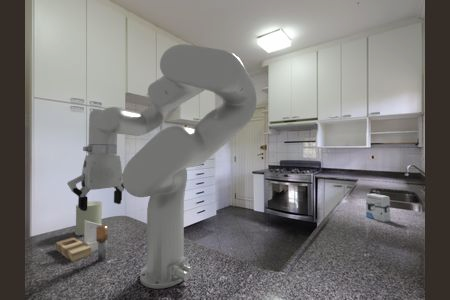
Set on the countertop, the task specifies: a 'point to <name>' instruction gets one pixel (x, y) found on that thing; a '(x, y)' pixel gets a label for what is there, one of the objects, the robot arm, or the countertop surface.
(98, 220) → the can
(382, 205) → the ink box
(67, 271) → the countertop surface
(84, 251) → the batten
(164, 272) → the robot arm
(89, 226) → the white angled block
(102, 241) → the awl
